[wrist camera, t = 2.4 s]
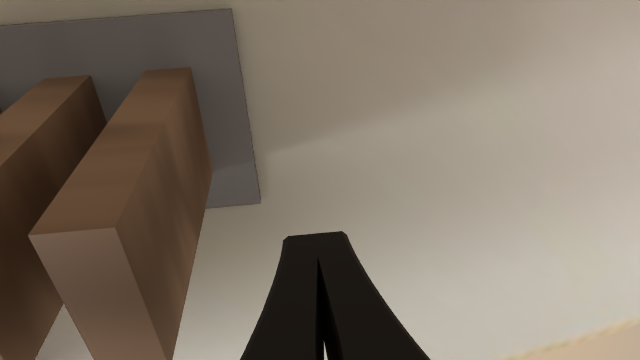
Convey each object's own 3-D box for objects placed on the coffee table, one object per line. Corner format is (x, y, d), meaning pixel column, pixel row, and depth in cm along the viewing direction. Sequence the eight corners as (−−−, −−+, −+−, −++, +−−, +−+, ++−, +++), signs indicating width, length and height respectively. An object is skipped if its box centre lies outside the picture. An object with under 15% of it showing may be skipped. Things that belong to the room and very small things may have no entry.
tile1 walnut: (213, 171, 18) (170, 369, 11) (173, 175, 18) (103, 376, 11) (190, 66, 16) (115, 227, 8) (145, 70, 16) (27, 235, 8)
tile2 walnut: (126, 179, 18) (21, 384, 11) (86, 182, 18) (-48, 391, 11) (90, 75, 16) (-78, 245, 8) (44, 78, 16) (-169, 253, 8)
